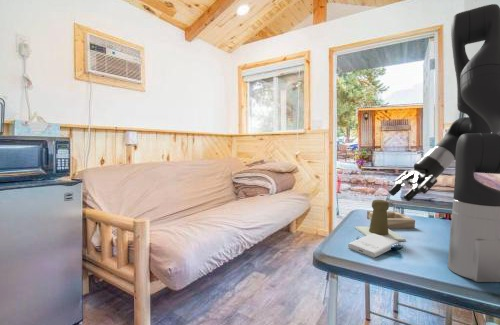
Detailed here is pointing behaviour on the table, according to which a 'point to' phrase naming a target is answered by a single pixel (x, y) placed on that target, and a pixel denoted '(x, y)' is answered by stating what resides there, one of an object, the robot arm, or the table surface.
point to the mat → (391, 235)
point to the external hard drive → (372, 245)
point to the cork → (379, 217)
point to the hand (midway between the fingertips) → (397, 196)
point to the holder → (396, 220)
